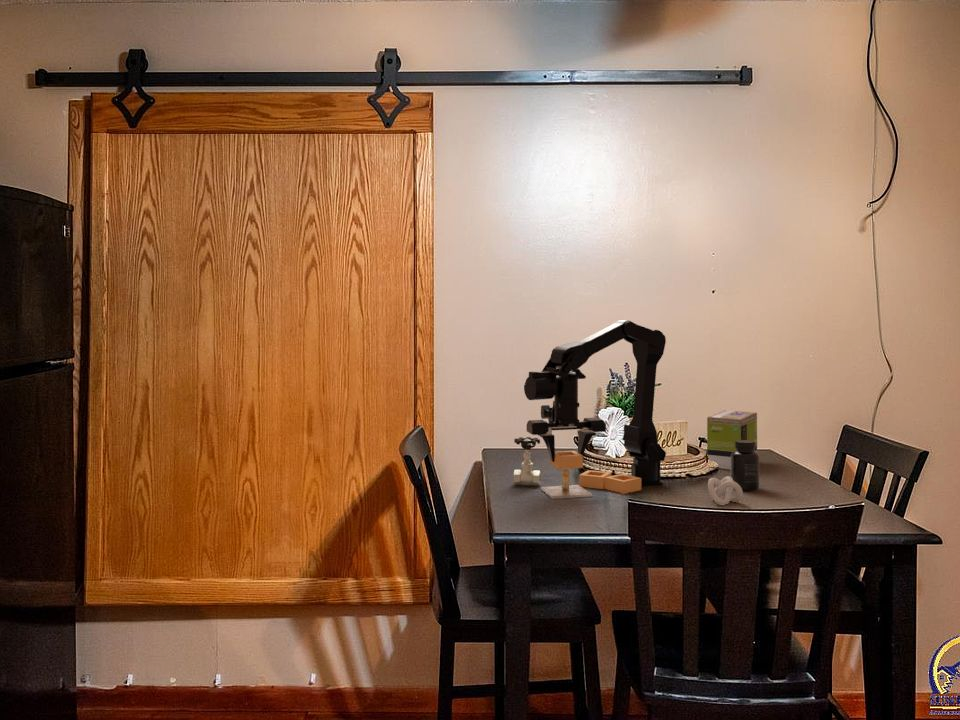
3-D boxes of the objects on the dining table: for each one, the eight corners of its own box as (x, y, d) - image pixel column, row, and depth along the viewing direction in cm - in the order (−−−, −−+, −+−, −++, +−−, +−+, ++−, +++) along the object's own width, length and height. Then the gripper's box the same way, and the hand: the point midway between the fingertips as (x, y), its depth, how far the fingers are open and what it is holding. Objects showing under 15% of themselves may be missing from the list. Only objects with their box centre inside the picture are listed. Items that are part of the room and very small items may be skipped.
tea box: (723, 458, 239) (724, 409, 238) (757, 462, 234) (759, 412, 233) (705, 467, 227) (706, 415, 226) (741, 471, 221) (742, 418, 220)
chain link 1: (587, 481, 210) (588, 470, 210) (611, 483, 207) (611, 472, 207) (579, 486, 205) (579, 474, 204) (603, 489, 202) (603, 477, 201)
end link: (574, 462, 201) (574, 450, 201) (582, 467, 195) (582, 455, 195) (549, 463, 200) (549, 451, 200) (557, 469, 194) (557, 456, 193)
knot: (701, 498, 192) (702, 474, 192) (735, 498, 192) (736, 474, 192) (709, 506, 185) (710, 481, 184) (745, 506, 184) (745, 481, 184)
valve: (538, 488, 202) (538, 441, 201) (512, 487, 204) (512, 440, 203) (541, 483, 209) (541, 437, 208) (516, 482, 210) (516, 436, 209)
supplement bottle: (760, 486, 203) (761, 439, 202) (757, 492, 197) (758, 444, 196) (732, 484, 206) (733, 438, 205) (728, 490, 200) (729, 442, 199)
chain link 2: (622, 485, 206) (622, 473, 205) (641, 490, 200) (641, 478, 200) (604, 489, 202) (604, 477, 201) (623, 493, 197) (623, 481, 196)
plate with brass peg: (578, 487, 204) (578, 464, 203) (591, 496, 194) (592, 472, 194) (540, 489, 202) (540, 466, 201) (552, 498, 192) (552, 474, 192)
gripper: (590, 392, 206) (590, 452, 207) (520, 395, 202) (520, 456, 203) (606, 397, 195) (606, 461, 196) (532, 400, 191) (532, 465, 192)
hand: (566, 460), depth 197 cm, fingers closed on end link, 6 cm apart
